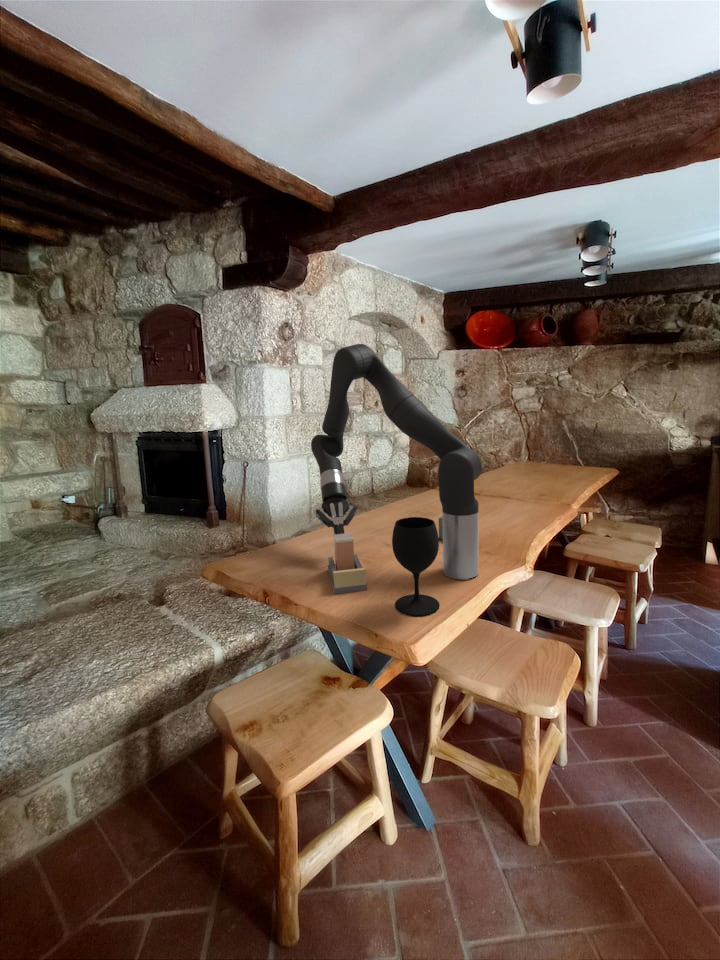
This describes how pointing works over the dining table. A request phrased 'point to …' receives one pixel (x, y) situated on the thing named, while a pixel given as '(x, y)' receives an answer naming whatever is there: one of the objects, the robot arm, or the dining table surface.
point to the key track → (347, 577)
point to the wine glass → (416, 560)
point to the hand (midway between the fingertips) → (340, 537)
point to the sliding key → (344, 551)
